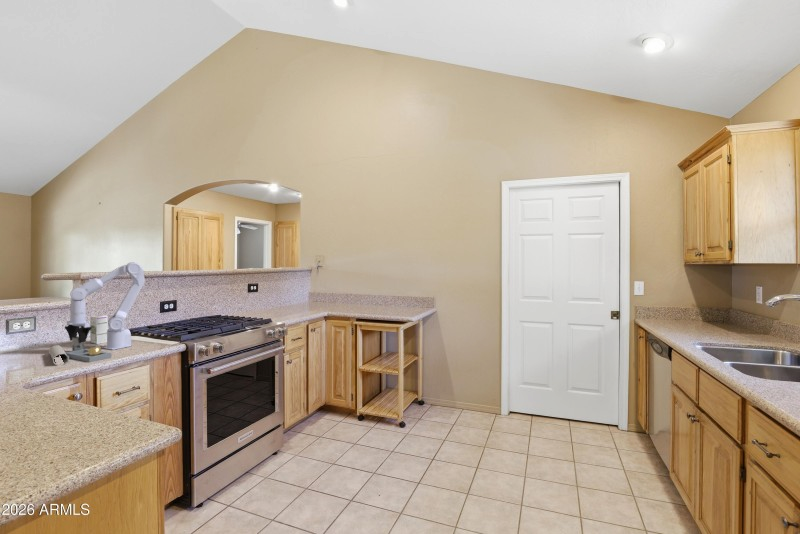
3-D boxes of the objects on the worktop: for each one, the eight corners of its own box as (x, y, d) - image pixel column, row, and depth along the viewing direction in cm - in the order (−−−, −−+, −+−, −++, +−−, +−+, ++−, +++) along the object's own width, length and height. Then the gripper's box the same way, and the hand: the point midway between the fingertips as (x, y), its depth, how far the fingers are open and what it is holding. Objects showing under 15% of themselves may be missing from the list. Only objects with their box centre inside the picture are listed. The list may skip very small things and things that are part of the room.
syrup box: (108, 342, 210) (108, 315, 210) (96, 344, 205) (96, 316, 204) (102, 341, 212) (102, 314, 212) (89, 343, 207) (89, 315, 207)
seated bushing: (96, 357, 180) (96, 346, 180) (102, 358, 179) (102, 347, 179) (86, 359, 176) (86, 348, 176) (92, 360, 175) (92, 349, 175)
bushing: (80, 350, 192) (80, 336, 192) (86, 351, 190) (86, 336, 190) (70, 352, 188) (70, 337, 188) (75, 353, 186) (75, 338, 186)
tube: (45, 347, 182) (50, 357, 164) (60, 342, 185) (66, 351, 168) (50, 357, 183) (55, 368, 166) (65, 352, 187) (71, 362, 169)
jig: (86, 352, 187) (86, 348, 187) (111, 357, 180) (111, 353, 180) (64, 357, 179) (64, 352, 179) (89, 362, 172) (89, 357, 172)
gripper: (59, 312, 188) (59, 341, 188) (77, 315, 182) (77, 344, 182) (76, 311, 194) (76, 338, 195) (94, 313, 189) (94, 341, 189)
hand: (77, 341), depth 189 cm, fingers open, 7 cm apart
